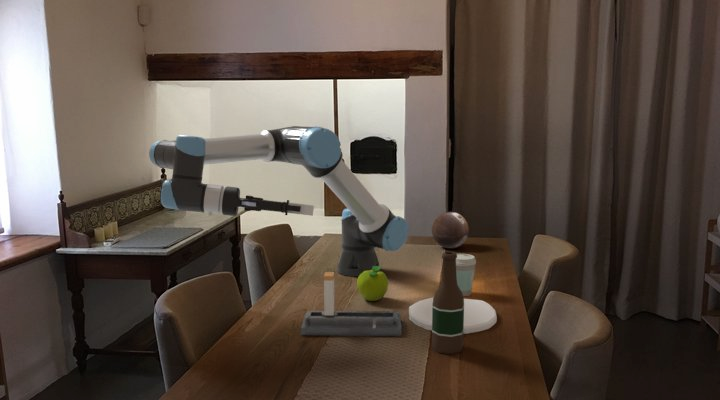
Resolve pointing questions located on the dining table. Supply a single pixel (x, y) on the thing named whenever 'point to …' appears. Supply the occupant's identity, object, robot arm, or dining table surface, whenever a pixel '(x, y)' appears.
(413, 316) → the decorative plate
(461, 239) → the wooden sphere
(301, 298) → the dining table surface
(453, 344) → the beer bottle
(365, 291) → the fruit
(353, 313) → the fader console
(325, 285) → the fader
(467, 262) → the coffee cup
